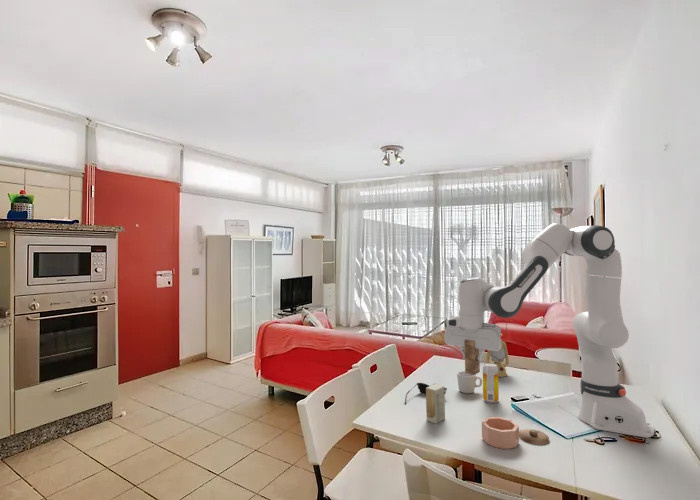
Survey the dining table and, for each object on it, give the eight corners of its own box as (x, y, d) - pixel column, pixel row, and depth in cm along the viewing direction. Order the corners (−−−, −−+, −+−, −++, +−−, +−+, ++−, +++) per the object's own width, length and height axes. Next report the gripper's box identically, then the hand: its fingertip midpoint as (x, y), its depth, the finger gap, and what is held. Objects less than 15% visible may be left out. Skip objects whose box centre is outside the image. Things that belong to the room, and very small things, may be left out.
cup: (479, 389, 172) (479, 371, 173) (484, 395, 164) (484, 376, 165) (455, 388, 173) (455, 370, 174) (459, 394, 166) (458, 376, 166)
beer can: (497, 398, 160) (497, 363, 161) (499, 404, 154) (498, 367, 155) (482, 397, 162) (482, 362, 162) (483, 402, 156) (483, 366, 156)
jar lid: (551, 437, 126) (551, 430, 127) (545, 448, 119) (545, 440, 119) (522, 430, 132) (522, 423, 132) (515, 440, 125) (515, 432, 125)
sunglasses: (447, 399, 162) (447, 387, 162) (433, 414, 148) (433, 402, 148) (417, 392, 169) (417, 381, 169) (401, 407, 156) (401, 395, 156)
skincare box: (435, 415, 144) (435, 383, 144) (445, 419, 141) (445, 386, 141) (425, 420, 140) (425, 387, 140) (435, 424, 137) (435, 390, 137)
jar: (522, 439, 125) (521, 422, 125) (512, 452, 116) (512, 434, 116) (489, 430, 131) (489, 414, 131) (478, 442, 123) (478, 425, 123)
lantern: (490, 377, 188) (489, 317, 189) (482, 371, 198) (481, 314, 199) (514, 377, 189) (512, 317, 189) (505, 371, 199) (504, 314, 199)
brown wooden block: (479, 371, 139) (479, 338, 139) (474, 375, 135) (473, 341, 135) (470, 370, 141) (469, 337, 141) (465, 373, 137) (464, 340, 137)
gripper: (503, 323, 134) (504, 362, 134) (449, 318, 147) (450, 353, 147) (497, 326, 129) (498, 366, 129) (442, 320, 142) (442, 357, 142)
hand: (472, 359), depth 138 cm, fingers closed on brown wooden block, 3 cm apart
